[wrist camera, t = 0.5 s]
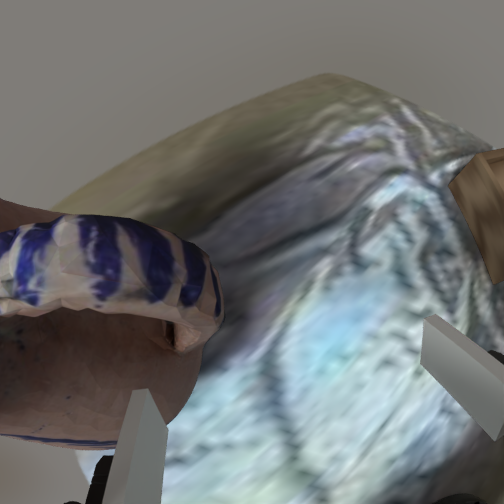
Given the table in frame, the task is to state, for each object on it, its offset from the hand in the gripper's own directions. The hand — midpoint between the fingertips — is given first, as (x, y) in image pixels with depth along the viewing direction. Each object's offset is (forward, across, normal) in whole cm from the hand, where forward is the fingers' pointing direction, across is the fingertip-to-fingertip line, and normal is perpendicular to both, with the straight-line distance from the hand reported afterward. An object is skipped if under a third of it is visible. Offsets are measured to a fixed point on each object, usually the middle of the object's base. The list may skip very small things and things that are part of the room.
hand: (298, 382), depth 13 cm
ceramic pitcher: (+16, +12, +5) cm, 21 cm away
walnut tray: (+18, -35, +2) cm, 39 cm away
